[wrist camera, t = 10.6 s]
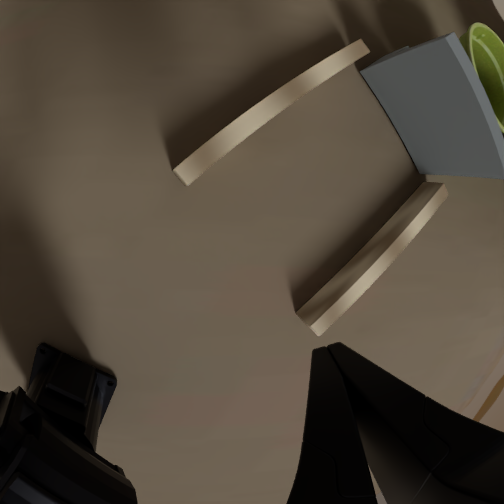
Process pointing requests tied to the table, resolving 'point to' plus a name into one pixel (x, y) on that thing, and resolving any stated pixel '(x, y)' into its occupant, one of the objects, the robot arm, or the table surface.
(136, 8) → the table surface
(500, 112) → the plant pot
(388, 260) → the wooden rail frame
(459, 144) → the board
